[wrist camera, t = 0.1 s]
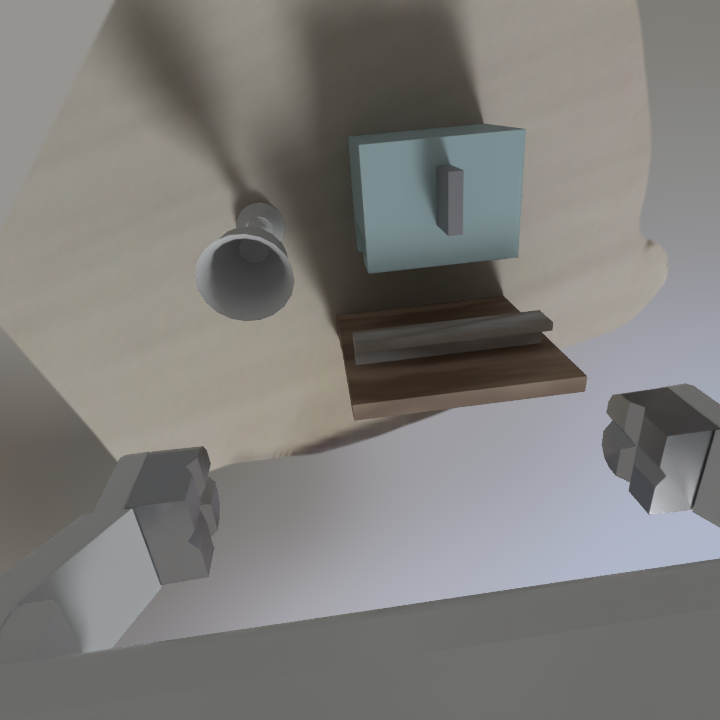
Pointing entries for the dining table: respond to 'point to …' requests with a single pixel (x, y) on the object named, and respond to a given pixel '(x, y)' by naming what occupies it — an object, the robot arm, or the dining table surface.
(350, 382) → the wall board
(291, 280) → the chalice
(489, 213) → the cabinet
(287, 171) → the dining table surface
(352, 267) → the dining table surface
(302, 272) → the dining table surface
